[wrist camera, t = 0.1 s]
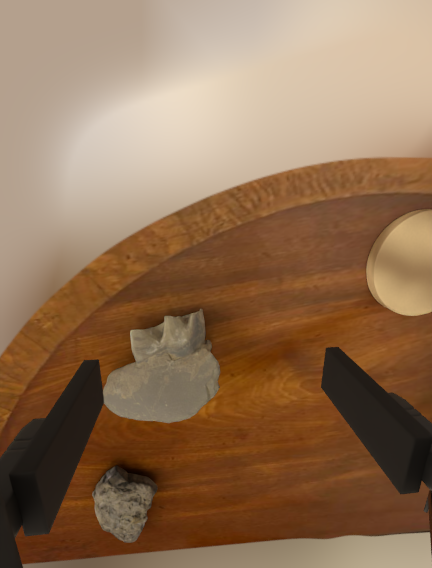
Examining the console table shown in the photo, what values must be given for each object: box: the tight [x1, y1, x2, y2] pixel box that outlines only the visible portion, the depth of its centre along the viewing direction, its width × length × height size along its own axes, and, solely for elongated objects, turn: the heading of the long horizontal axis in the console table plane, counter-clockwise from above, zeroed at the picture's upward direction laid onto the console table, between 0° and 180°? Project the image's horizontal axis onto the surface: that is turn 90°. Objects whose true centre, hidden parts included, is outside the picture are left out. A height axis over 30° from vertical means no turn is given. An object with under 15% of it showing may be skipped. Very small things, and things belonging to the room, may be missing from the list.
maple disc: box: [366, 209, 432, 316], centre depth 33 cm, size 13×13×2 cm
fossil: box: [103, 309, 220, 423], centre depth 30 cm, size 14×10×10 cm
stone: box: [92, 465, 158, 543], centre depth 38 cm, size 14×8×3 cm, turn 162°
